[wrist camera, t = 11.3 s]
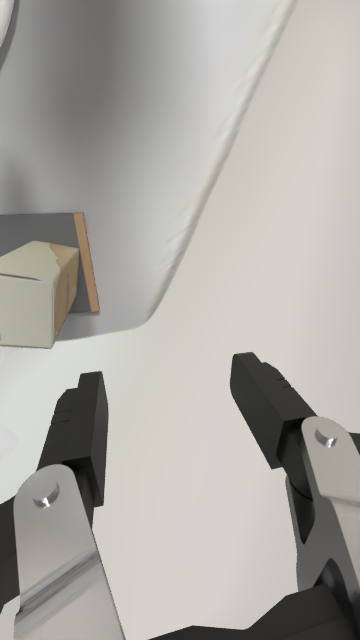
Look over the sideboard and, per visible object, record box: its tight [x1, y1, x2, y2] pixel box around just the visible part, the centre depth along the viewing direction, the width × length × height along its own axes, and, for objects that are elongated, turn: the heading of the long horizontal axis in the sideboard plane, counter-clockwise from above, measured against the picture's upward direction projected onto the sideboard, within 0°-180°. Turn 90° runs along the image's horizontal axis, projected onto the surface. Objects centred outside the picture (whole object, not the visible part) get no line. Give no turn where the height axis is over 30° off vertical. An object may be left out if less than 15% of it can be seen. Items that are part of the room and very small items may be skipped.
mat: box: [0, 213, 100, 314], centre depth 25 cm, size 10×16×1 cm, turn 90°
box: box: [0, 241, 79, 349], centre depth 20 cm, size 5×4×11 cm
